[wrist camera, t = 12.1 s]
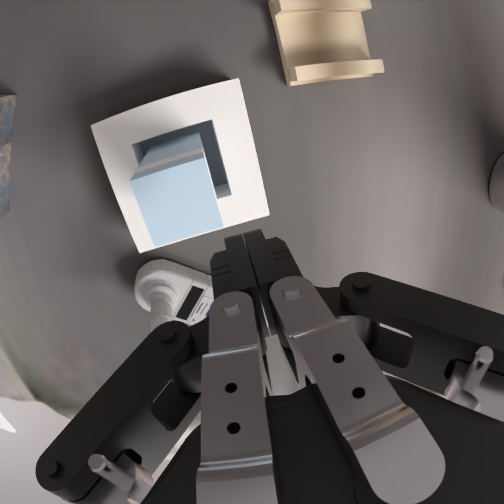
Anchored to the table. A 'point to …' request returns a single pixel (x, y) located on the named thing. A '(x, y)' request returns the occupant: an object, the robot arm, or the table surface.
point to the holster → (322, 40)
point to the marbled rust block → (5, 147)
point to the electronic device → (173, 292)
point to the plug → (176, 190)
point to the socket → (177, 125)
